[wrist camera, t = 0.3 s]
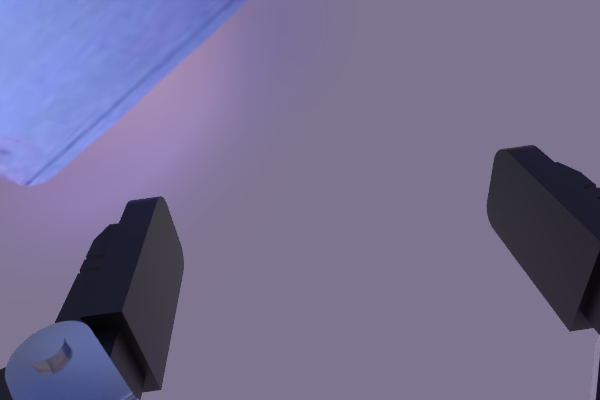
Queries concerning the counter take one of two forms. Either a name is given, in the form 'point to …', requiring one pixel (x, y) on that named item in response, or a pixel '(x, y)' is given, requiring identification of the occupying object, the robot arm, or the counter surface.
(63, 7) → the counter surface
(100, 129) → the counter surface
